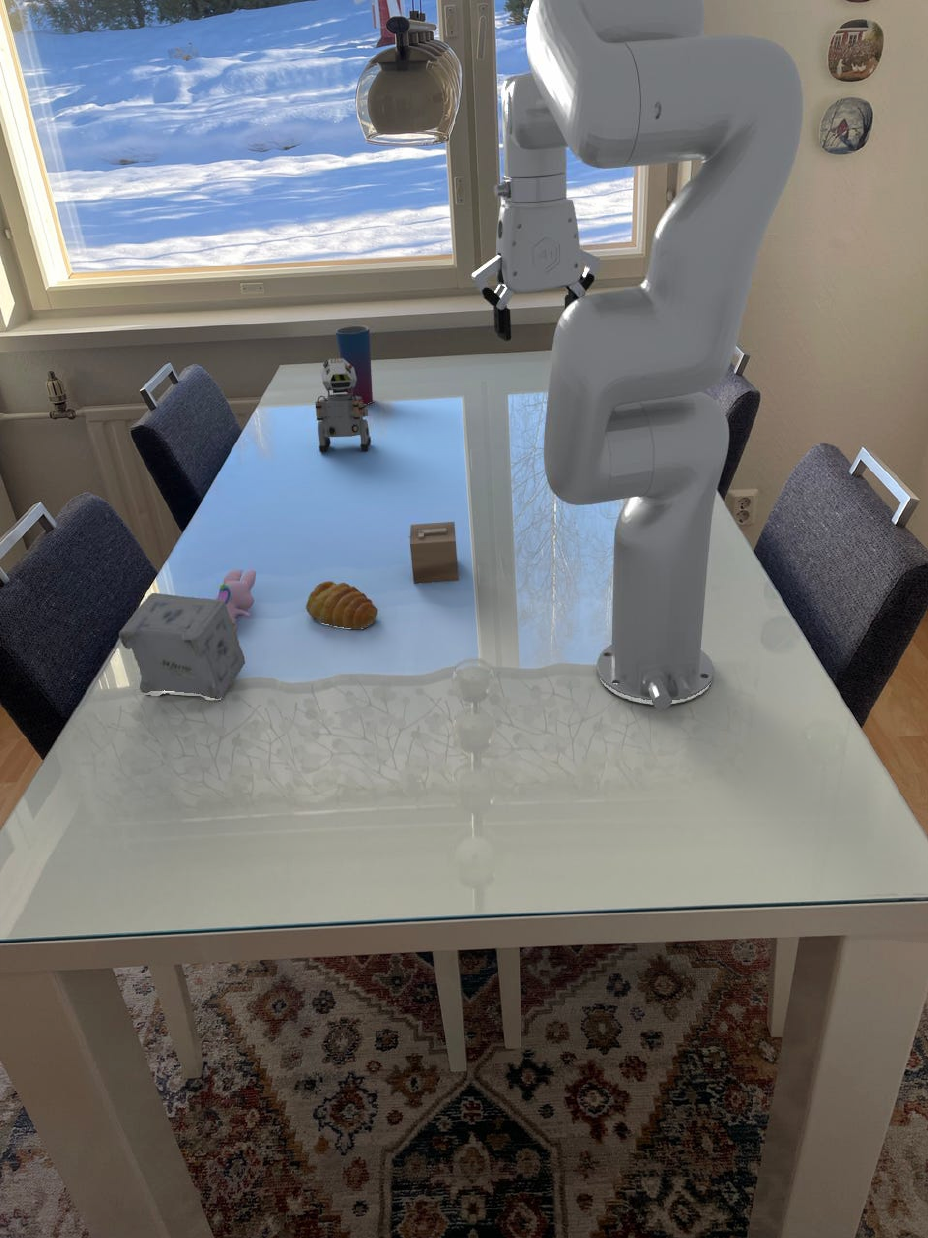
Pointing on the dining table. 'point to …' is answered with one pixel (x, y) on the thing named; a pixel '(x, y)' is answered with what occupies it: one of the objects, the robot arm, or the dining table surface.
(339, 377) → the figurine
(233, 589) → the rabbit figure
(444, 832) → the dining table surface
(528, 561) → the dining table surface
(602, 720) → the dining table surface
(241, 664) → the incense holder
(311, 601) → the pastry
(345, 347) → the cup
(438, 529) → the lettered block
